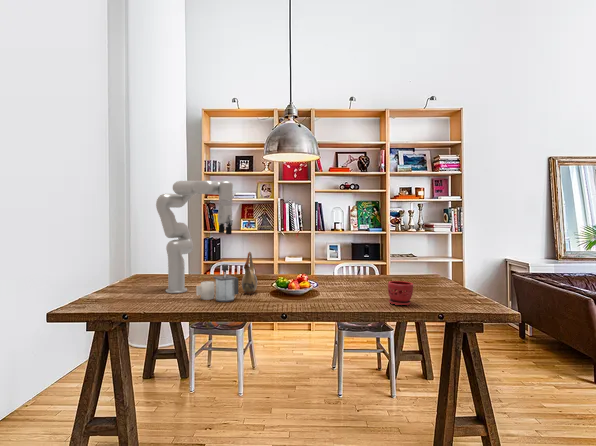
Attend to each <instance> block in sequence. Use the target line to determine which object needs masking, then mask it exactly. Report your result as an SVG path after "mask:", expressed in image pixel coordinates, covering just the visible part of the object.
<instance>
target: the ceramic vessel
mask: <svg viewBox="0 0 596 446" xmlns="http://www.w3.org/2000/svg"><path fill="white" fill-rule="evenodd" d="M255 267H256V264H255V263H254V262H253V256H252V252H251V251H249V252H248V253H247V257H246V261H245V263H244V266H243V269H244V271H245V272H244V274H243V276H242V279H241V287H242V290H243V292H244V293H245V294H247V295H252V294H254V293H255V291H256V290H257V287H258V278H257V276H256V274H255Z"/></svg>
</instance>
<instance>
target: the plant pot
mask: <svg viewBox="0 0 596 446" xmlns="http://www.w3.org/2000/svg"><path fill="white" fill-rule="evenodd" d="M387 290H388V292H387V293H388V297H389V299H388V302H389V304H390V303H391V305H392V304H395V305H407V306H409V304H410V305H411V303H412V301H411V299H412V298H413V297H412V296H413V293H414V283H413V282H411V281H410V282H409V281H403V280H391V281H389V280H388V283H387ZM395 305H394V306H395Z"/></svg>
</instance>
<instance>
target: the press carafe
mask: <svg viewBox="0 0 596 446" xmlns="http://www.w3.org/2000/svg"><path fill="white" fill-rule="evenodd" d="M212 279H215V302H217V303H218V302H219V303H230V302H234V300H235V296H237V295H239V278H238V277H236V276H233V275H230V274H228V275H227V274H226V278H224V275H217V276H213V277H212Z"/></svg>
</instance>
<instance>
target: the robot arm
mask: <svg viewBox="0 0 596 446" xmlns="http://www.w3.org/2000/svg"><path fill="white" fill-rule="evenodd" d="M233 186H234V185H233V182H232V181H216V180H215V181H214V180H178V181H176V182H174V183H173V184H172V191H173V193H162V194H159V196H158V197H157V198H156V204H155V207H156V211H157V213H158V216H159V218H160V223H161V225H162V229H163V232H164V235H165V236H166V238H168V239H172V240H170V241H169V242H167V244H166V248H165V249H166V254H167V265H168V266H167V267H168V268H167V269H168V270H167V273H168V277H167V278H168V279H167V281H168V283H167V285H168V286H167V288H166V289H165V293H168V294H182V293H186V292H187V291H188V288H187V287H185V285H186V284H185V273H186V271H185V259H184V256H183V255H188V254H191V253H192V252H193V250H194V242H193V239H192V235H191V232H190V229H189V227H188V225H187V224H186V223H185V222H178V221H177V220H176V219H177V218H176V215H175V213H174V212H173V211H172V210H171V208H174V209H175V208H178V209H179V208H182V207H183V206H185V205H186V204H187V202H188V201H190V199H192V197H193V196H198V195H218V212H217V223H218V233H219V234H226V235H232V231H233V230H232V227H233V221H234V219H233V209H232V208H233ZM225 225H226V227H225Z"/></svg>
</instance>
